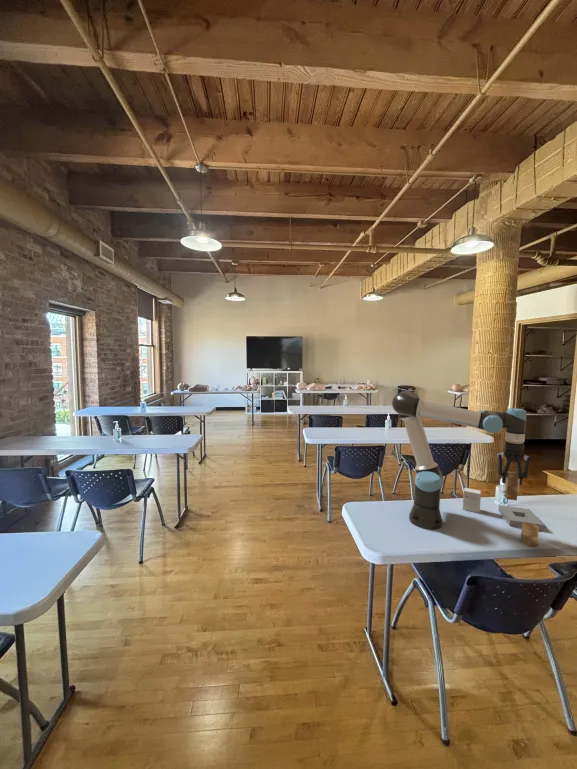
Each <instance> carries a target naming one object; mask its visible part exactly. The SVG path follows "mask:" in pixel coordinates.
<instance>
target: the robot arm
mask: <svg viewBox="0 0 577 769" xmlns="http://www.w3.org/2000/svg"><path fill="white" fill-rule="evenodd" d="M391 406H392V409H393V410H394V411H395V413H397V414H398V416H399V419H400V420H402V421H403V423H404V426H405V429H406V434H407V435H408V436H407V437H408V440H409V443H410V447H411V450H412V452H413V457H414V460H415V463H416V465H415V468H414V472H415V473H416V474H415V477H414V496H413V505H412V506H411V509H410V511H409V517H408V520H409V522H410V523H412V524H413V525H414V526H416V527H419V528H422V529H428V530H438V529H441V528H442V526H443V516H442V514H441V510H440V509H441V508H440V506H441V505H440V503H441V492H442V488H443V485H444V474H443V472H442V471H441V470H440V467H439V464H438V463H437V462H435V460H434V458H433V454H432V451H431V449H430V445H429V441H428V437H427V435H426V432H425V428H424V425H423V422H422V419H421V418H422V417H423V418H428V419H432V420H438V421H442V422H446V423H452V424H457V425H462V426H466V427H469V428H470V427H471V428H473V429H479V430H483V431H486V432H488V433H490V434H497V433H499V432H500V431H502V429H505V437H504V440H505V441H504V449H503V451H502V452H501V453H499V452H498V453H496V456H497V473H498V475H499V476H501V483H503V490H504V492H505V491H507V485H508V477H507V473H508V472H509V469H510V466H511V464H512V462H514V463H515V465H516V466H515V467H516V473H517V474H518V475H519V478H518V492H517V494H518V493H519V492H520V486H522V484H523V479H527V478H528V475H529V474H528V473H529V465H530V462H531V460H532V458H531V457H530V456H529V455H526V454H525V453H524V451H525V444H524V443H525V440H526V438H525V437H526V428H527V427H526V426H527V410H525V409H522V408H515V407H513V408H511V407H510V408H509V407H508V408H507V411H503V412H502V411H492V410H478V411H477V410H472V409H468V408H467V409H466V408H461V407H458V406H457V407H456V406H451V405H447V404H440V403H436V402H430V401H426V400H423V399H422V398H421V397H419V395H418V394H417V393H416V392H414V391H411V390H404V391H401V392H399V393H397V394H395V395H394V397H393V398H392V400H391ZM504 457H505V463H504V467H503V458H504ZM522 459H523V468H522V466H521V464H522V463H521V462H522V461H521V460H522Z"/></svg>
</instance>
